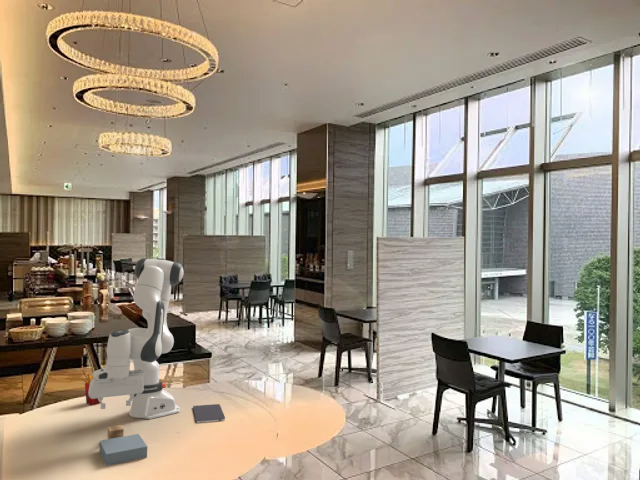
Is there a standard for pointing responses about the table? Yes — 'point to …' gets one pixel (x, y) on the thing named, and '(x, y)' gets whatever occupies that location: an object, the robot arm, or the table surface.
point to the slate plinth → (122, 449)
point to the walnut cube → (115, 432)
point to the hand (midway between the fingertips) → (115, 406)
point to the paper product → (208, 413)
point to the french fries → (88, 399)
